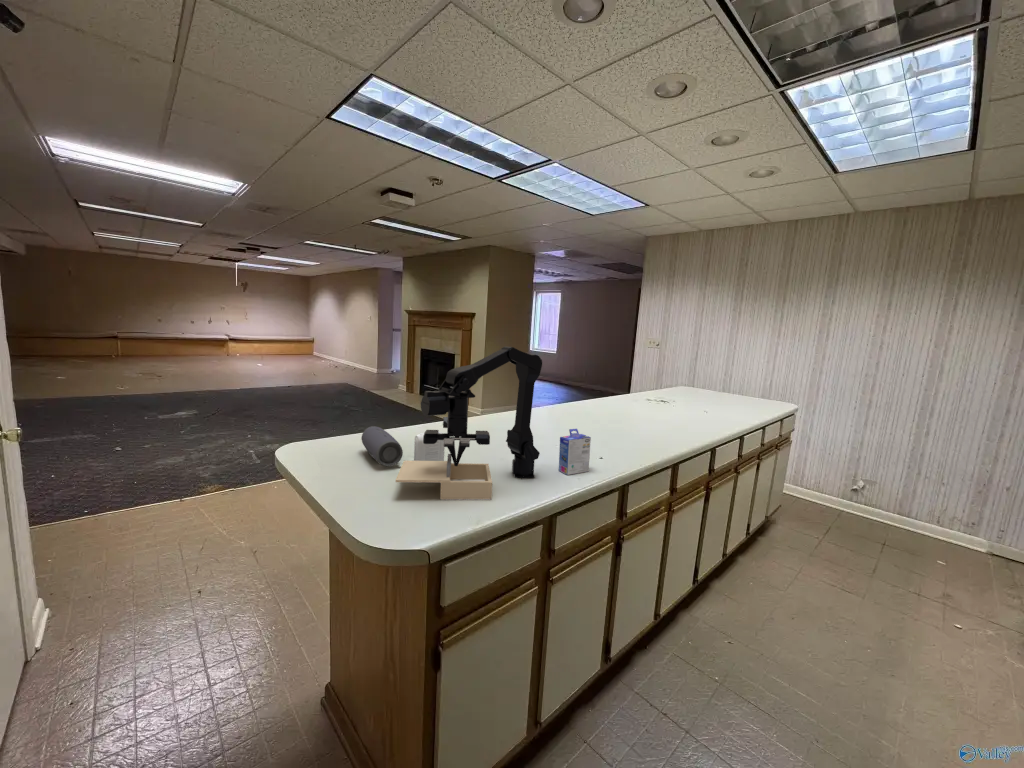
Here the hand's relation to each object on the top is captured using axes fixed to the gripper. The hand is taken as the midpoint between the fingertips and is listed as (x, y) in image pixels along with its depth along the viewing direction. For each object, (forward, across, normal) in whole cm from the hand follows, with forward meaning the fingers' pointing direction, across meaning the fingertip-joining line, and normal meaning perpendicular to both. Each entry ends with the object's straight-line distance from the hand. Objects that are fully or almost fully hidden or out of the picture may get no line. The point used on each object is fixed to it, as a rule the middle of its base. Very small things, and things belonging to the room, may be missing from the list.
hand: (456, 465), depth 121 cm
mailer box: (+7, -3, 0) cm, 8 cm away
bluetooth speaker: (+7, +26, -26) cm, 37 cm away
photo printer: (+7, +9, -18) cm, 21 cm away
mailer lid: (+2, +9, 0) cm, 9 cm away
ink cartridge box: (+7, -40, -16) cm, 44 cm away
